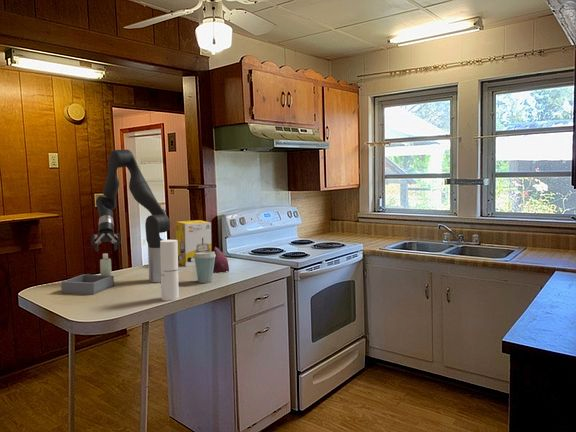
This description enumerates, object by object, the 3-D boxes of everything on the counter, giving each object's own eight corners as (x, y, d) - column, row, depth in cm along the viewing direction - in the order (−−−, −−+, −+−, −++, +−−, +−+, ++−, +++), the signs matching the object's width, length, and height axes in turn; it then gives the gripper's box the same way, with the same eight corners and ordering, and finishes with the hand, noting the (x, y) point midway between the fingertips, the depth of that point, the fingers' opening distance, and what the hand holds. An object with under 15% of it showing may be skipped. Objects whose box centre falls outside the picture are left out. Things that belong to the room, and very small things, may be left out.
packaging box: (185, 266, 261) (184, 223, 259) (176, 262, 274) (175, 221, 272) (211, 263, 270) (211, 222, 267) (201, 259, 283) (200, 220, 281)
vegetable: (208, 277, 247) (200, 251, 245) (218, 271, 256) (210, 246, 255) (224, 274, 243) (216, 248, 241) (233, 268, 252) (225, 243, 250)
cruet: (113, 280, 226) (112, 252, 225) (108, 282, 221) (107, 254, 220) (104, 279, 227) (103, 252, 226) (98, 282, 222) (97, 254, 221)
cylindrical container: (174, 301, 189) (172, 242, 187) (158, 300, 190) (157, 241, 188) (181, 296, 196) (180, 239, 194) (166, 295, 197) (165, 239, 195)
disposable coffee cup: (190, 283, 220) (189, 253, 219) (201, 278, 231) (201, 249, 229) (209, 285, 217) (208, 254, 215) (219, 280, 227) (219, 250, 226)
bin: (113, 285, 215) (113, 275, 214) (94, 294, 199) (93, 283, 199) (83, 284, 218) (83, 274, 217) (61, 292, 202) (61, 281, 201)
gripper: (91, 221, 236) (90, 246, 226) (120, 220, 241) (120, 245, 231) (92, 230, 241) (91, 255, 231) (120, 229, 246) (121, 253, 236)
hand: (106, 250), depth 231 cm, fingers open, 8 cm apart
